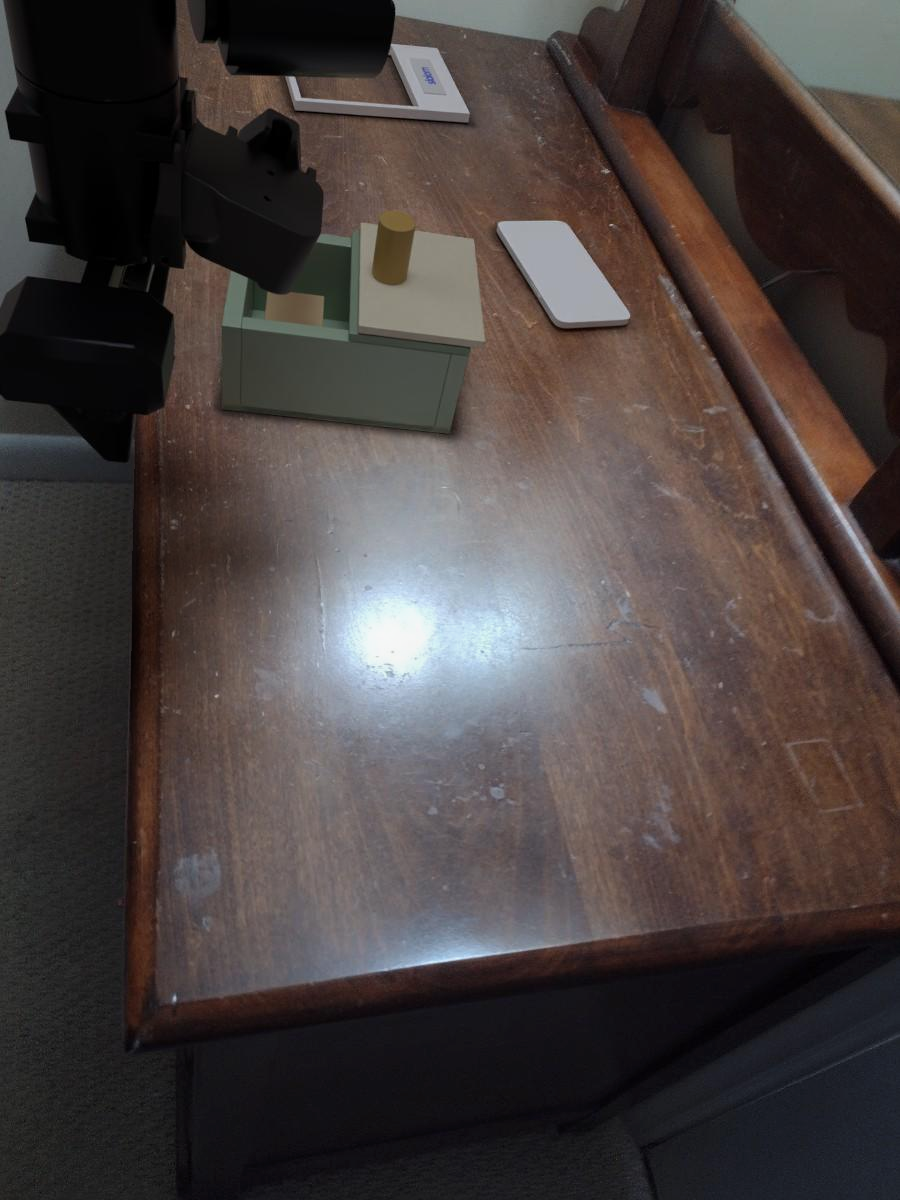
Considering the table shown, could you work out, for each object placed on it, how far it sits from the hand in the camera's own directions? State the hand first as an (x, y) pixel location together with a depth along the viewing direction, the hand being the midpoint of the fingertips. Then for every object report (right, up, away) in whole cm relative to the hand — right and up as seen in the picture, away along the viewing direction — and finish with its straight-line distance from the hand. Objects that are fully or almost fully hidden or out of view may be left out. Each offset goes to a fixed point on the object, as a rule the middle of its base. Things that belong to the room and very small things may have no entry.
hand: (133, 394), depth 46 cm
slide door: (+14, +11, +18) cm, 25 cm away
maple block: (+4, +8, +22) cm, 23 cm away
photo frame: (+7, +44, +51) cm, 68 cm away
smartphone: (+25, +18, +36) cm, 48 cm away
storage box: (+8, +7, +23) cm, 25 cm away
